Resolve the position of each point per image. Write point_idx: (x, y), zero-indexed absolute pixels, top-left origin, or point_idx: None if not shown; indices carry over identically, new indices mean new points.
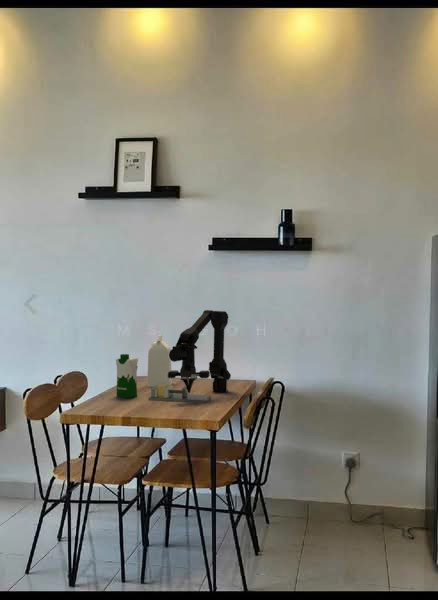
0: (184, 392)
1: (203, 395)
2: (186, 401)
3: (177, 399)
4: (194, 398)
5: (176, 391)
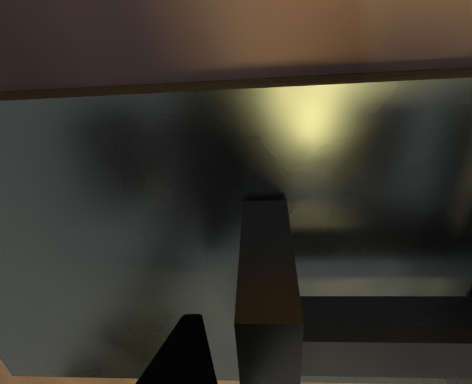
0: (243, 256)
1: (74, 356)
2: (183, 84)
3: (351, 82)
4: (82, 192)
5: (423, 325)
